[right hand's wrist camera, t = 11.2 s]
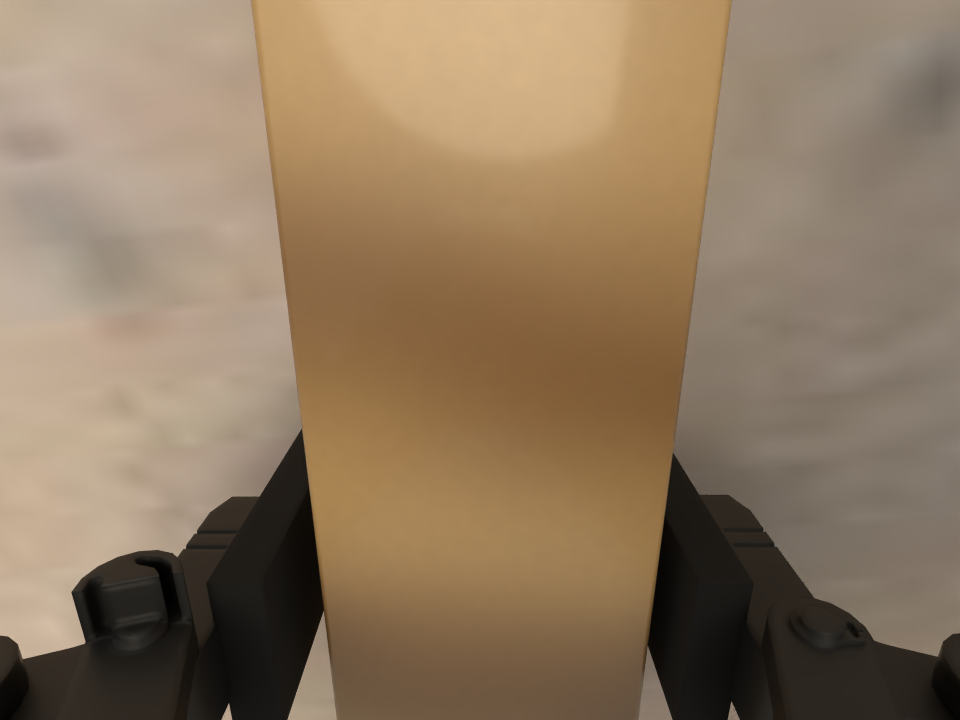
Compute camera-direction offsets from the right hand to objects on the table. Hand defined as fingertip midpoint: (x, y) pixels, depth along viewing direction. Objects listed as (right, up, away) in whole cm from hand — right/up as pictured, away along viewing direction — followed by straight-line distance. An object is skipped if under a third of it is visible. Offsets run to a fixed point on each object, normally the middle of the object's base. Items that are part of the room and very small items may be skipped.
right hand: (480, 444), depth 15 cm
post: (0, +23, -7) cm, 24 cm away
